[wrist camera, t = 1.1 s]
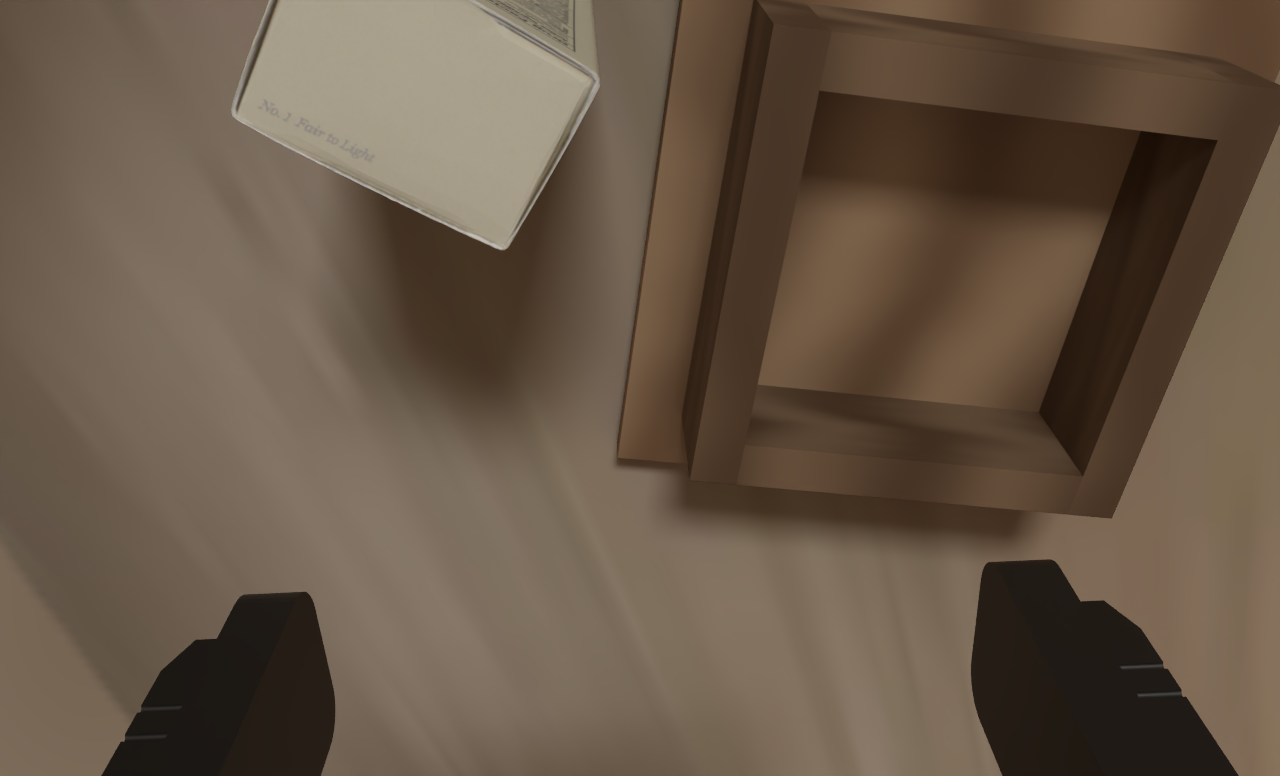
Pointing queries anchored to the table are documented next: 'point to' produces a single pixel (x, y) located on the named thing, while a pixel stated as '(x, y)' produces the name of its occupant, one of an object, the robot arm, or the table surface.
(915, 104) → the brown wooden tray
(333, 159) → the skincare box
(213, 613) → the table surface
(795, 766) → the table surface
